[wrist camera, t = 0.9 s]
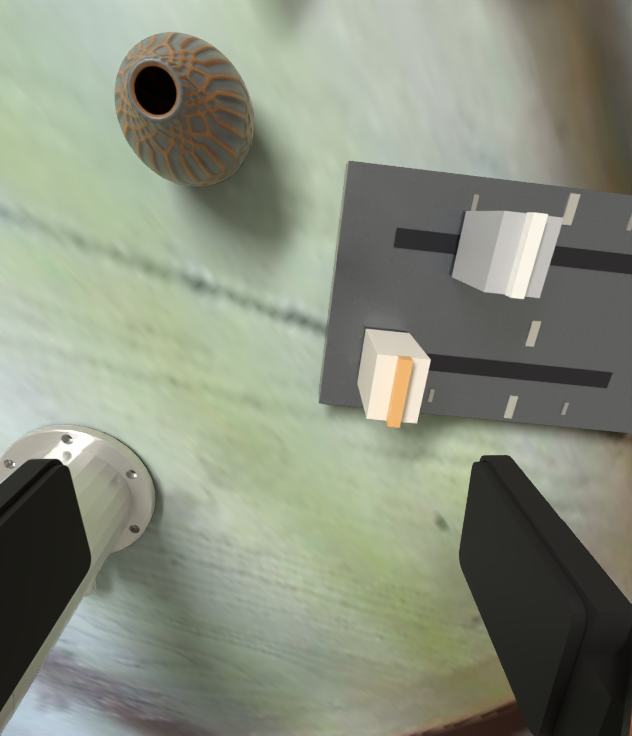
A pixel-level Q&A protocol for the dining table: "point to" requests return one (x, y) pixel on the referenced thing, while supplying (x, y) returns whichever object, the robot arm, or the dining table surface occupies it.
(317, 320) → the dining table surface
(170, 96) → the vase
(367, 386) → the ivory fader
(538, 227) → the grey fader
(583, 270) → the console
